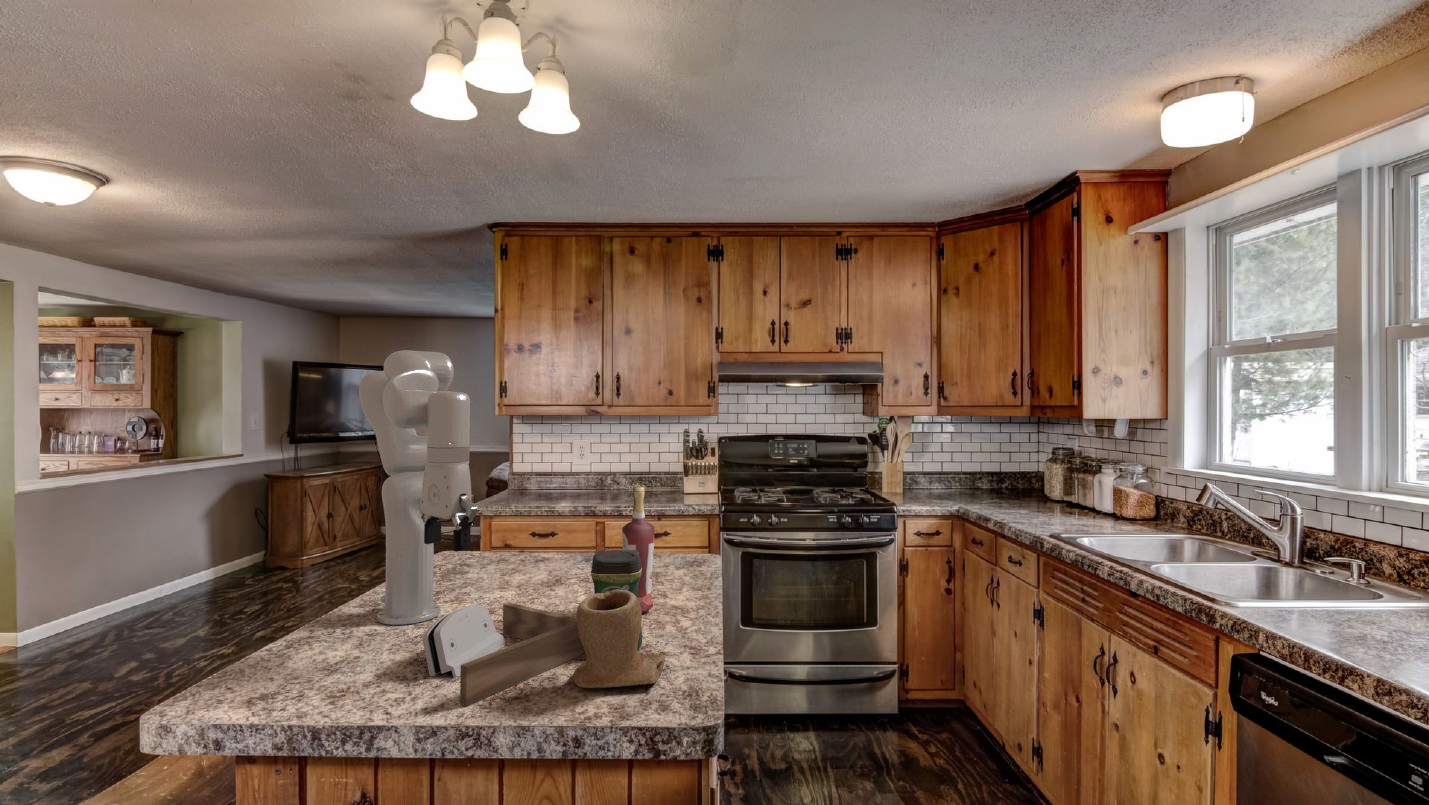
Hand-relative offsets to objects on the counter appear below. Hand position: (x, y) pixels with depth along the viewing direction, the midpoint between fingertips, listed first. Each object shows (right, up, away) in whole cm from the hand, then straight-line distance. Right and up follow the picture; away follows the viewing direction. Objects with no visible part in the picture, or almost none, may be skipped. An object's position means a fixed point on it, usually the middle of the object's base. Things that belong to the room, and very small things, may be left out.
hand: (446, 546), depth 122 cm
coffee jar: (+32, -20, 0) cm, 38 cm away
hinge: (+5, -20, -5) cm, 21 cm away
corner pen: (+11, -19, -8) cm, 23 cm away
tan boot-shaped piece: (+35, -19, -16) cm, 43 cm away
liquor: (+34, -20, +23) cm, 45 cm away
